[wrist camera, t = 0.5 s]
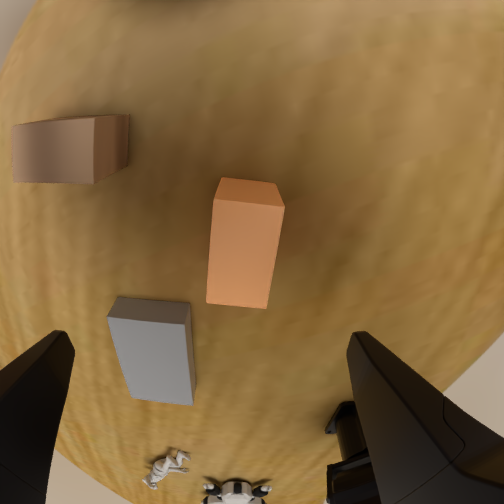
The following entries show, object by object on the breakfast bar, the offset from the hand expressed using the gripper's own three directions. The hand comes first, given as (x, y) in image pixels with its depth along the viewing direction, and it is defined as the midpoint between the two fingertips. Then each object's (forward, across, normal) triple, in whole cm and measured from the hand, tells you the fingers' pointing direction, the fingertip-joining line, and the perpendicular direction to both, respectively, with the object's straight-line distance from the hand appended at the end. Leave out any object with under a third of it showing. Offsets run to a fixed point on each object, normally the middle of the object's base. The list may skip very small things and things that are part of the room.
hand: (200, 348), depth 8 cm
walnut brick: (+13, +9, -5) cm, 16 cm away
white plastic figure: (+12, +11, +38) cm, 41 cm away
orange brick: (+12, -1, +2) cm, 13 cm away
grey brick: (+12, +6, +13) cm, 19 cm away
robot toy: (+11, +1, +52) cm, 53 cm away
